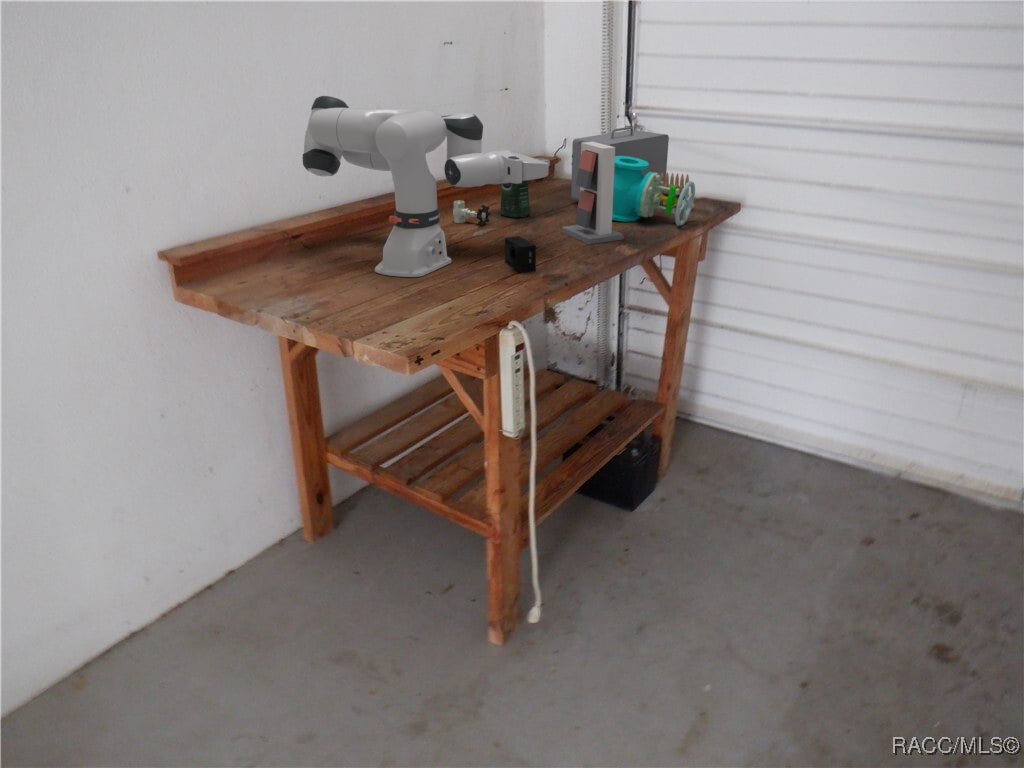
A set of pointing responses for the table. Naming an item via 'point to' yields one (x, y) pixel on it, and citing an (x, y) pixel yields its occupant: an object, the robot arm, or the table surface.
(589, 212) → the lower rocker
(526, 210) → the coffee jar
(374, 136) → the robot arm
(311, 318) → the table surface
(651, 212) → the valve
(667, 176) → the ammunition clip
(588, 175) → the upper rocker
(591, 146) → the tower
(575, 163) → the vintage electronic device
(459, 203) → the valve
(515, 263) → the digital camera
